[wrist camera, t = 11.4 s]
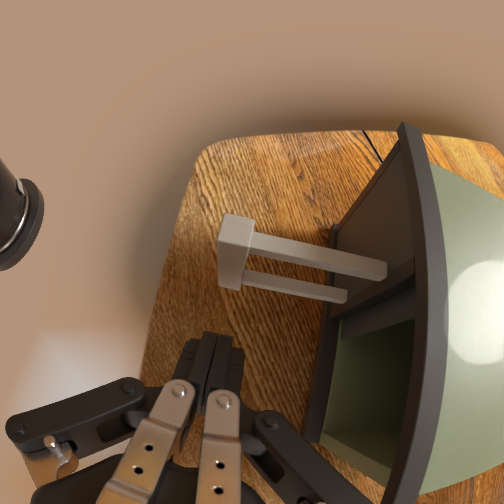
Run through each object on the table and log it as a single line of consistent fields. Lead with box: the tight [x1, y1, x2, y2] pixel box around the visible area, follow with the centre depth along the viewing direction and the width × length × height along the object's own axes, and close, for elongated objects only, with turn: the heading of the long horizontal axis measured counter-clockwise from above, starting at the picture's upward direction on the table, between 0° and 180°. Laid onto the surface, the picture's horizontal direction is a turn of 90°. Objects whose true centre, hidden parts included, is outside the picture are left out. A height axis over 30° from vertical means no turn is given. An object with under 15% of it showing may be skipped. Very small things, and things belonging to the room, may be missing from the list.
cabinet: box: [301, 122, 504, 504], centre depth 15 cm, size 13×18×13 cm
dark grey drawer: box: [217, 140, 416, 320], centre depth 16 cm, size 9×8×10 cm
